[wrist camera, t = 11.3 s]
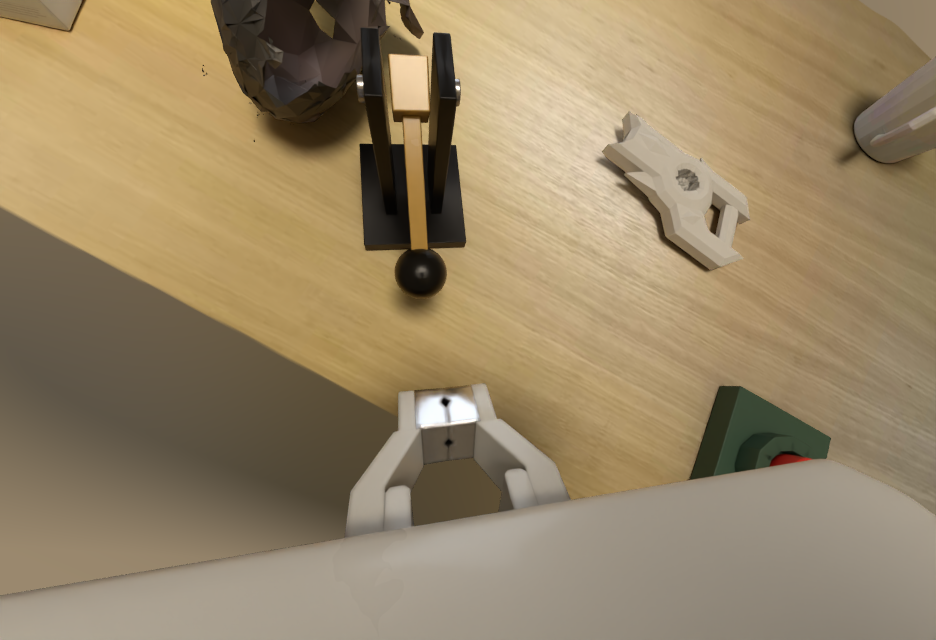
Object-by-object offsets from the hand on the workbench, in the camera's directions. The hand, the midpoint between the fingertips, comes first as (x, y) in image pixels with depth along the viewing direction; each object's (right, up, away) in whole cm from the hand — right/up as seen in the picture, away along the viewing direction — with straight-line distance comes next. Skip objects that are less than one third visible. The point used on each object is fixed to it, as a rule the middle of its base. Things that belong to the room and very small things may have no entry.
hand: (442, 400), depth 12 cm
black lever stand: (-4, +14, +20) cm, 25 cm away
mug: (+52, +25, +31) cm, 65 cm away
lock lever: (-3, +12, +12) cm, 17 cm away
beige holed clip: (+23, +16, +25) cm, 37 cm away
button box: (+27, -11, +20) cm, 35 cm away
